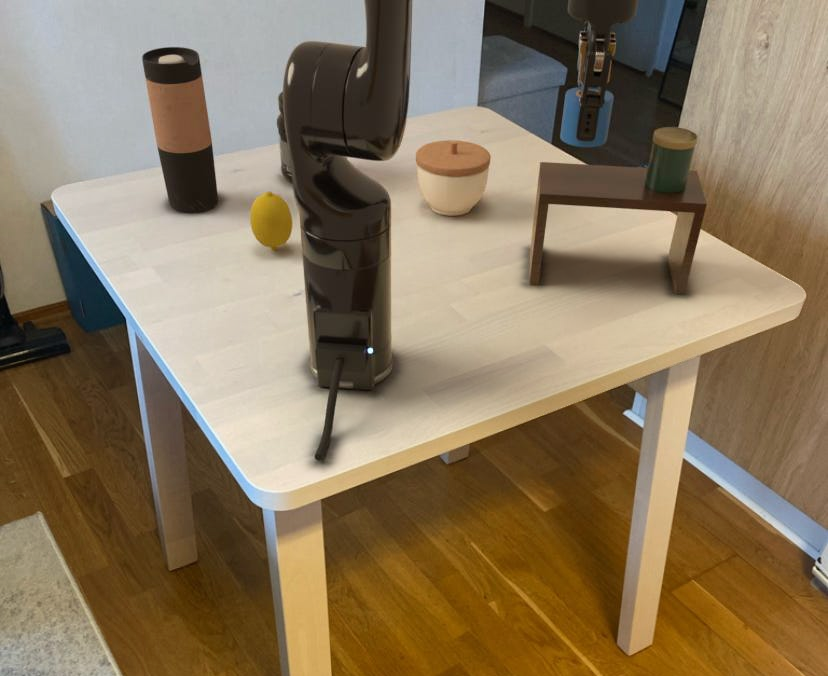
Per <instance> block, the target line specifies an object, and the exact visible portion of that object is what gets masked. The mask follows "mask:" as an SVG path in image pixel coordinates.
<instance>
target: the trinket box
mask: <svg viewBox="0 0 828 676" xmlns="http://www.w3.org/2000/svg"><path fill="white" fill-rule="evenodd" d="M491 158H492V157H491V153H490V151H488V150H487V149H486V148H485V147H483V146H481V145H480V144H477V143H473V142H470V141H464V140H454V139H453V140H450V139H449V140H438V141H433V142H429V143H426V144H423V145H422V146H420V147H419V148H418V149H417V150H416V152H415V163H416V165H415V168H416V169H415V170H416V181H417V187H418V191H419V193H420V195H421V197H422V198H423V200H424V201H425V203H426V204H427V205H428V206H429V208H430V210H432V212H434V213H436V214H439V215H442V216H447V217H448V216H449V217H451V216H452V217H455V216H462V215H466V214H467V213H469V212H470V211H471V210H472V208H473V207H474V206H476V205H477V203H478V202H479V201H480V200H481V198H482V197H483V195H484V193H485V191H486V188H487V185H488V179H489V171H490V164H491Z"/></svg>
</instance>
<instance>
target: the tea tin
mask: <svg viewBox="0 0 828 676" xmlns="http://www.w3.org/2000/svg"><path fill="white" fill-rule="evenodd" d="M698 139H699V136H698V134H697V133H695V132H694V131H692V130H690V129H688V128H685V127H679V126H678V127H677V126H663V127H660V128H657V129H655V130H654V132H653V135H652V145H651V150H650V155H649V159H648V164H647V168H648V169H647V174H646V179H645V184H646V186H647V187H648V188H650V189H652V190H655V191H658V192H663V193H676V192H680V191H683V190H684V189H685V188H686V184H687V180H688V175H689V171H691V166H692V162H693V157H694V153H695V149H696V146H697V144H698Z"/></svg>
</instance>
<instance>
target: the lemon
mask: <svg viewBox="0 0 828 676" xmlns="http://www.w3.org/2000/svg"><path fill="white" fill-rule="evenodd" d="M250 227H251V231H252V234H253V235H254V237H255V239H256V240H257V242H258V243H259V244H261V245H262V246H264V247H266V248H269V249H271V250H272V251H277V249H278V248H279V247H282V246H283V245H285V244H286V243H287V242H288V241H289V239H290V237H291V235H292V232H293V231H292V230H293V216H292V213H291V210H290V207H289V205H288V203H287V201H286V200H285V199H284V198H283V197H282V196H280V195H279V194H276V193H273V192H272V191H266V192H265V193H263V194H261V195H259V196H258V197H257V198H256V199H255V200H254V201H253V203H252V206H251V210H250Z"/></svg>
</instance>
